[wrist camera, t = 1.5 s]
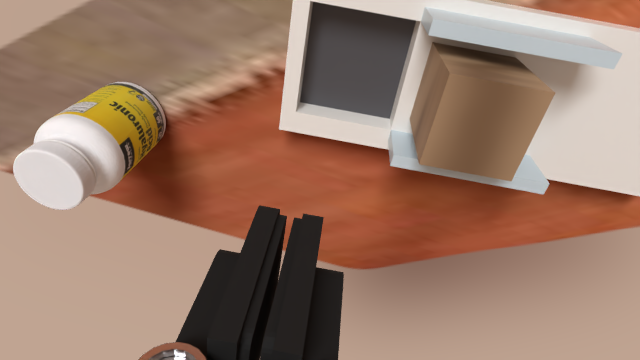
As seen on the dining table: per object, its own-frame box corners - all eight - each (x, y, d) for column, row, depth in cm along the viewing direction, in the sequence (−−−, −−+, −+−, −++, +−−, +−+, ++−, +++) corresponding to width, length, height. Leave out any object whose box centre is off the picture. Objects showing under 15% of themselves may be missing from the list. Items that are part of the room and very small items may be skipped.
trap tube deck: (728, 44, 24) (814, 73, 19) (632, 182, 29) (682, 230, 25) (301, -34, 24) (285, -25, 19) (284, 117, 30) (268, 153, 25)
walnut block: (515, 57, 24) (555, 92, 19) (484, 132, 26) (511, 181, 21) (432, 42, 24) (449, 73, 19) (409, 118, 26) (419, 164, 21)
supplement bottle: (179, 139, 31) (112, 214, 23) (120, 150, 33) (36, 226, 24) (149, 72, 29) (60, 131, 20) (85, 87, 30) (-23, 148, 22)
